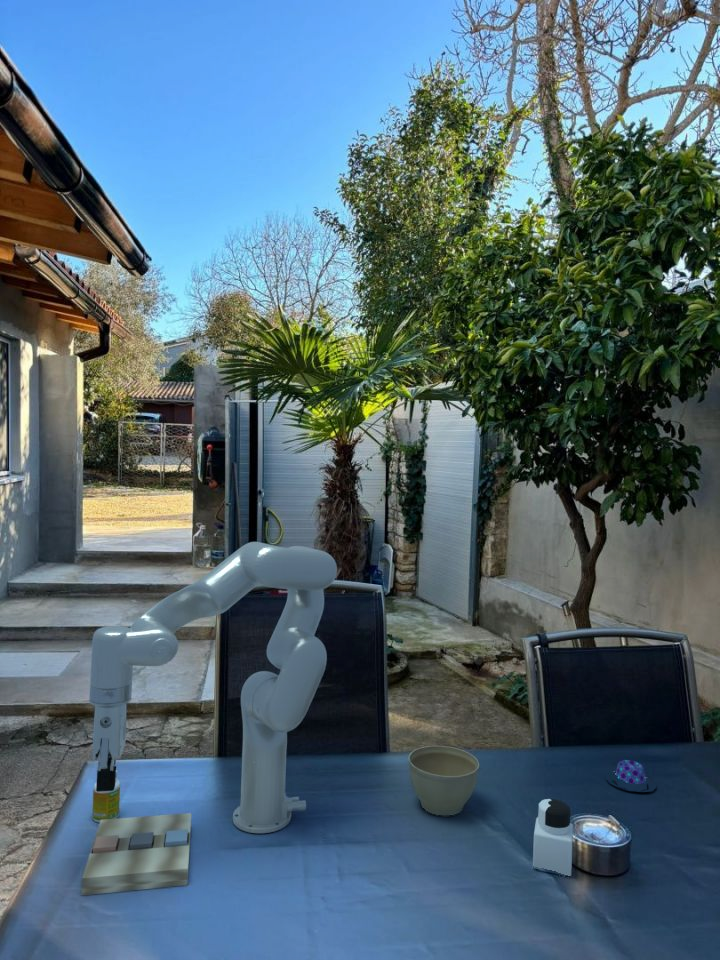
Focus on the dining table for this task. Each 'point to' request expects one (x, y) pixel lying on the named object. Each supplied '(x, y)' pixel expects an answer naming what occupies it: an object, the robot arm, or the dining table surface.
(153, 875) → the keypad
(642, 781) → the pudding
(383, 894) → the dining table surface
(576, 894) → the dining table surface
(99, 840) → the key pink
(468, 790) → the planter bowl
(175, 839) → the key blue
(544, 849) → the medicine bottle
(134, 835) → the key charcoal
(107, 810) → the supplement bottle
